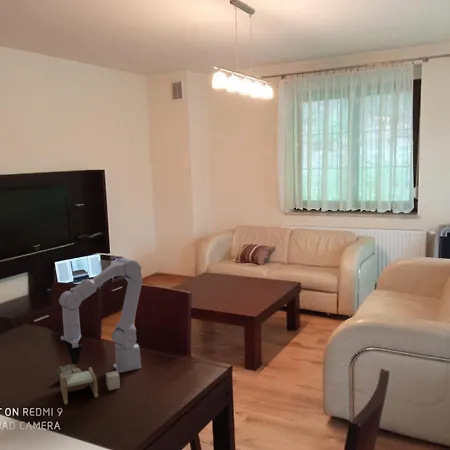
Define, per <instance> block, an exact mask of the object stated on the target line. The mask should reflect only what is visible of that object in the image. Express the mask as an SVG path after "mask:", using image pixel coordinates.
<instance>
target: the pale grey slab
mask: <svg viewBox="0 0 450 450" xmlns="http://www.w3.org/2000/svg"><path fill="white" fill-rule="evenodd" d="M64 379H65V382H66V385H67V388H70V387H74V386H78V385H83V384H88V383H89V382H93V379H92V376H91V374H90V372H89V370H84V371H82V372H78V373H73V374H69V375H64ZM89 384H90V383H89Z"/></svg>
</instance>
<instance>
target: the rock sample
mask: <svg viewBox="0 0 450 450" xmlns="http://www.w3.org/2000/svg"><path fill="white" fill-rule="evenodd" d="M78 372H83V371H82V370H81V369H80V368H78V367H76V365H75V364H66V365H60V366H59V367H58V368H57V370H56V372H55V374H54V376H55V377H56V378H58V379H60V373H63V375H69V374H73V373H78Z"/></svg>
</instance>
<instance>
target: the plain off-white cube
mask: <svg viewBox="0 0 450 450" xmlns="http://www.w3.org/2000/svg"><path fill="white" fill-rule="evenodd" d="M105 380H106V388H107V389H108V391H113V390H117V389H120V388H121V385H120V383H121V381H120V373H118V372H117V371H116V370H114V371H109V372H106V373H105Z"/></svg>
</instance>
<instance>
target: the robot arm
mask: <svg viewBox="0 0 450 450" xmlns="http://www.w3.org/2000/svg"><path fill="white" fill-rule="evenodd" d="M119 276H120V277H123V278H124V280H126V282H127V286H126V291H125V296H124V301H123V305H122V310H121V315H120V320H119V321H118V322H117V323H116V324H115V327H114V329H113V331H112V333H111V339H112V341H113V342H114V349H115V363H114V364H113V367H114V368H115V371H117V372H118V374H120V373H124V372H128V371H134V370H138V369H142V364H141V363H142V362H141V361H142V360H141V349H140V345H139V343H137V329H136V326H135V320H136V319H135V318H136V313H137V309H138V304H139V299H140V295H141V290H142V285H143V276H142V266H141V264H140V263H139V262H137V260H135V259H134V260H133V259H128V258H126V257H122V256H121V257H118V258H117V259H116V260H114V261H112V262H111V264H110V265H109V266H107V267H106V268H105V269H103V270H102V271H101V272H100V273H98V274H97V275H96V276H94V277H93V278H92V279H88V278H86V279H81V280H80V281H81V282H80V283H79V284H77V285H76V286H74V287H71V288H70V290H66V291H64V292H62V293H61V295H60V297H59V299H58V303H59V305H61V308H62V309H61V310H62V311H61V312H62V323H63V326H62V327H63V335H61V336H60V340H61V341H64V343H65V345H66V346H65V348H66V350H67V352H68V355H69V357H70V360H71V363H72V364H71V365H75V364H76V365H77V364H79V363H80V356H81V351H82V349H83V347H84V345H83V343H80V344H79V341H80V339H81V338H82V334H81V324H80V309H79V307H80V306H81V304H82V302H83V301H84V300H86V299H87V298H88V297H90V296H91V295H93V294H94V293H97V289H98V287H99V286H102V284H104V283H106V282H107V281H108V280H110V279H111V278H113V277H119Z"/></svg>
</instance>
